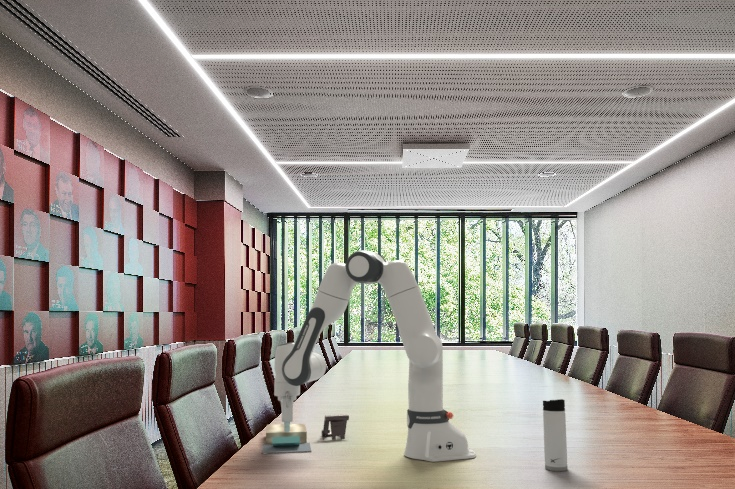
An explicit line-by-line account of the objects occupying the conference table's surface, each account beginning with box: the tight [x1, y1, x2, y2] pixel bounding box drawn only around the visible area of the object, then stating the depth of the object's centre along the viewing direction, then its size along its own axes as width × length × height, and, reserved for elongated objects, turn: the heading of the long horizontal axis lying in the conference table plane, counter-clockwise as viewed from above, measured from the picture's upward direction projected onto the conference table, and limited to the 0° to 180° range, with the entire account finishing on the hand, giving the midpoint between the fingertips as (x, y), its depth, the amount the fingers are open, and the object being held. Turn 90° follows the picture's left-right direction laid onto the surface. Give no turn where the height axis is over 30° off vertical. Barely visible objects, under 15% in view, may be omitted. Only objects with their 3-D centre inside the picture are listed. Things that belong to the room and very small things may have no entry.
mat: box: [261, 442, 312, 454], centre depth 207 cm, size 16×13×1 cm
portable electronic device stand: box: [321, 413, 350, 441], centre depth 225 cm, size 9×8×8 cm
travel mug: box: [542, 398, 569, 472], centre depth 179 cm, size 6×7×20 cm
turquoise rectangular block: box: [272, 436, 300, 446], centre depth 207 cm, size 9×6×2 cm, turn 98°
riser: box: [265, 423, 308, 444], centre depth 221 cm, size 14×16×4 cm
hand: (287, 431), depth 211 cm, fingers closed
